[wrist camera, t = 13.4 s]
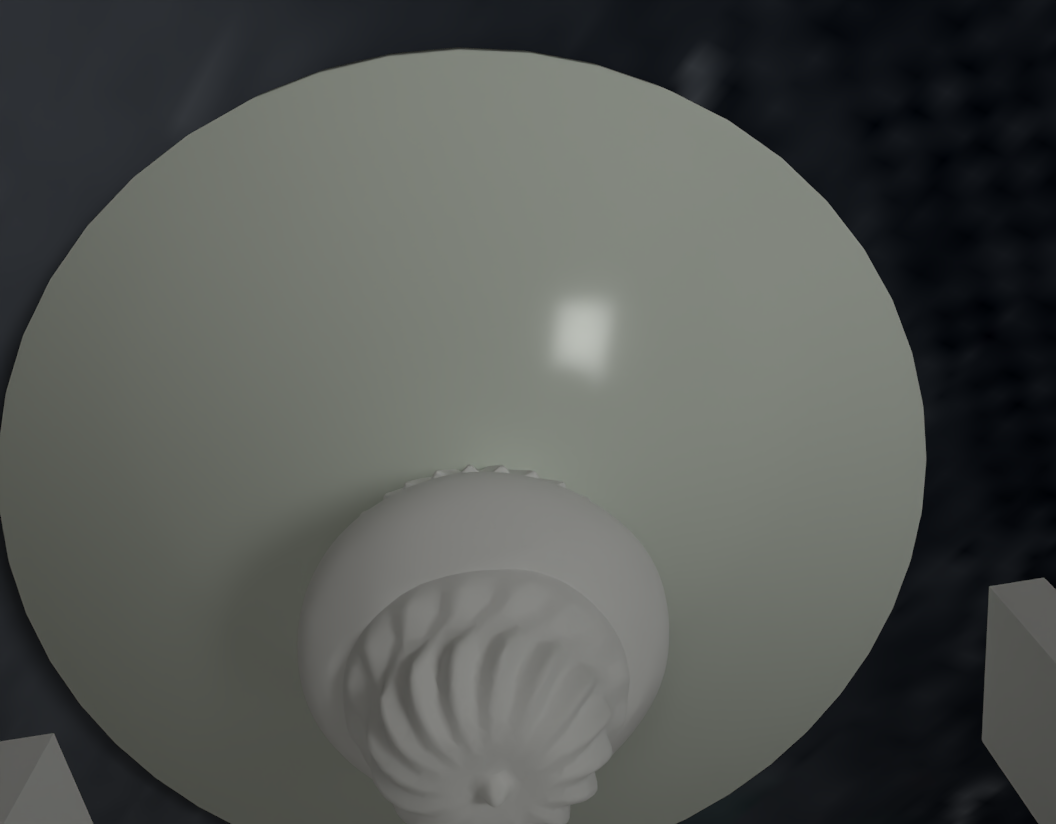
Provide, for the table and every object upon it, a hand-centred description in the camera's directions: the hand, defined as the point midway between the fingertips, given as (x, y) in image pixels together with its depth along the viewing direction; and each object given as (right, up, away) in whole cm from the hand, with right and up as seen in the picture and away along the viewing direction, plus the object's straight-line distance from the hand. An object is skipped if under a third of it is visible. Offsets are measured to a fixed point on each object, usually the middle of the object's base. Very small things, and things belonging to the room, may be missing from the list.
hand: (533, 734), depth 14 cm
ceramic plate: (-1, +3, +7) cm, 7 cm away
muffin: (-1, +2, +6) cm, 6 cm away
